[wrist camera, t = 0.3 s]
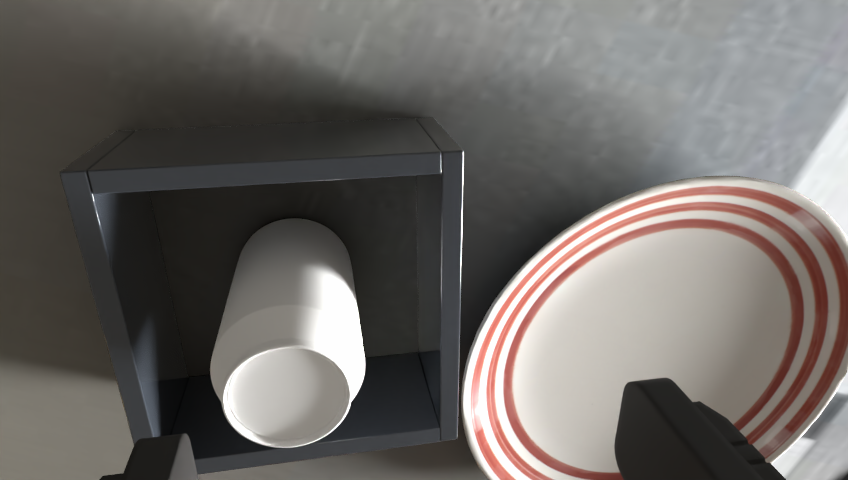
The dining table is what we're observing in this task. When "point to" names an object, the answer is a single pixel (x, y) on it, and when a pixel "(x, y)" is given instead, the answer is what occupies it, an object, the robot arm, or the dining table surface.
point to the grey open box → (254, 165)
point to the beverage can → (289, 336)
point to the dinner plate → (661, 326)
